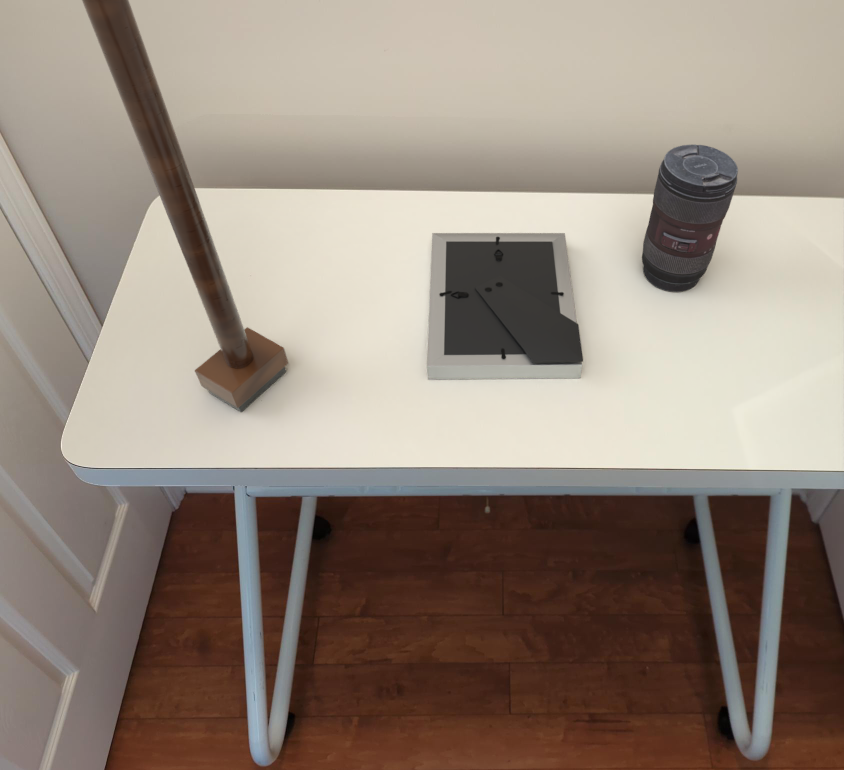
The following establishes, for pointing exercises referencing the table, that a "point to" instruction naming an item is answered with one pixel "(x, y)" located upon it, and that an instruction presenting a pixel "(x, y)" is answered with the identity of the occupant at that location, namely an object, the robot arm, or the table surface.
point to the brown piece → (184, 212)
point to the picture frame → (501, 307)
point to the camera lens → (687, 215)
